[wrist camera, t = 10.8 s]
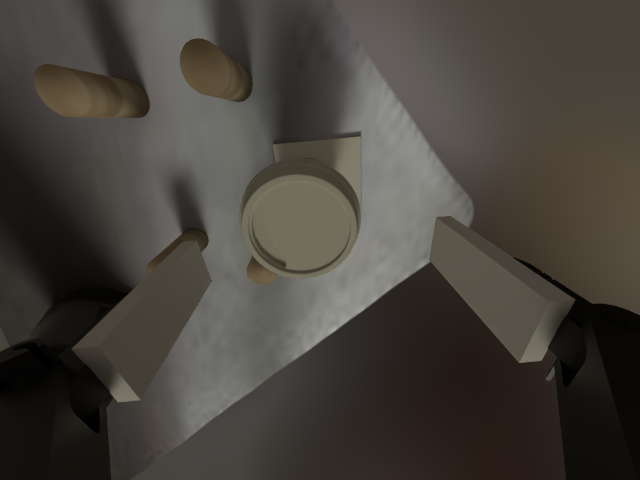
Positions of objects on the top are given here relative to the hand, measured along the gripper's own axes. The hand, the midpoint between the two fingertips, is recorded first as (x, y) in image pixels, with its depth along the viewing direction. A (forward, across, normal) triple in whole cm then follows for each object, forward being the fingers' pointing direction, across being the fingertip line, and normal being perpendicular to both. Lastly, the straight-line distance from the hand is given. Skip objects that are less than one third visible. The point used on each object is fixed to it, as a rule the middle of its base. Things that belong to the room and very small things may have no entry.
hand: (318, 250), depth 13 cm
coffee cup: (+14, -1, 0) cm, 14 cm away
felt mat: (+15, +1, 0) cm, 15 cm away
